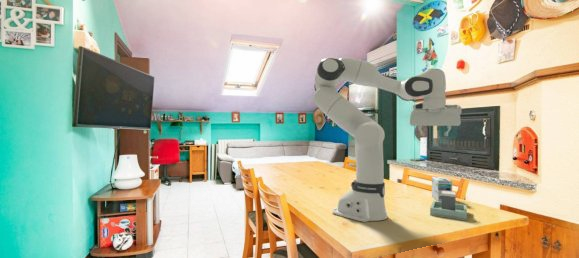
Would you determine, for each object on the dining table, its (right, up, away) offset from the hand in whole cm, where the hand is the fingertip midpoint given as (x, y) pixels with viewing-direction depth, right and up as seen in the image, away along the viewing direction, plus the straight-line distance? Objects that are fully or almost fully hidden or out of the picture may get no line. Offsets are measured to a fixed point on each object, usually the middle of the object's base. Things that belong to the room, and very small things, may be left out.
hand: (434, 136), depth 123 cm
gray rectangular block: (+3, -32, -5) cm, 33 cm away
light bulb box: (+13, -33, +17) cm, 39 cm away
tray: (+3, -33, -5) cm, 34 cm away
